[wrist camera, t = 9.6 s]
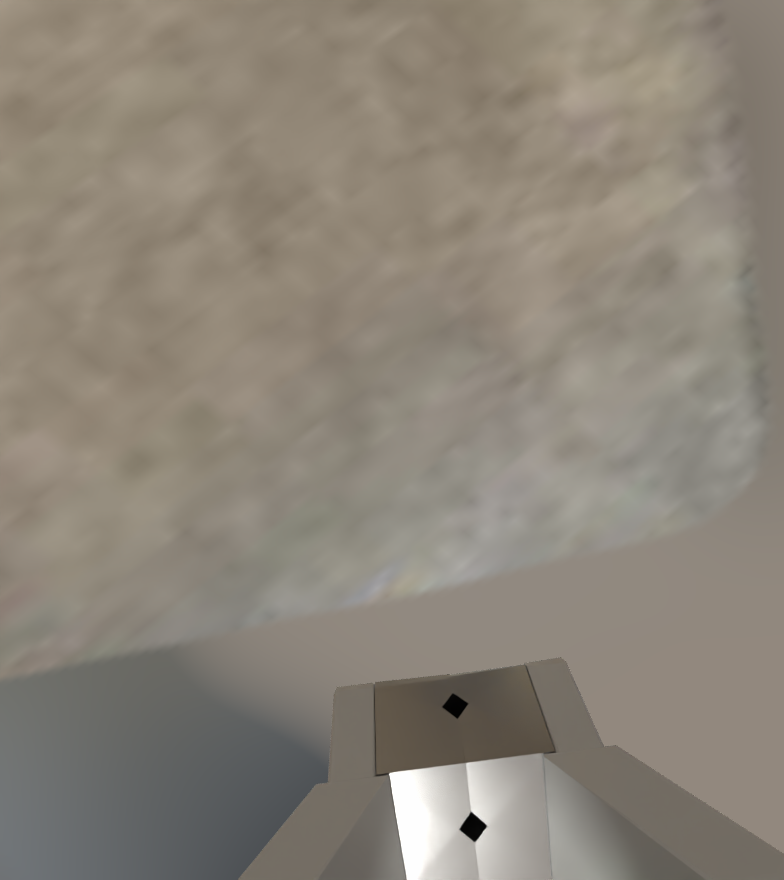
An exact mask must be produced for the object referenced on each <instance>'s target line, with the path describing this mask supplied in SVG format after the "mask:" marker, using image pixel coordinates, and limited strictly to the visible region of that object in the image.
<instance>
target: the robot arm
mask: <svg viewBox="0 0 784 880" xmlns="http://www.w3.org/2000/svg"><path fill="white" fill-rule="evenodd" d="M552 879H553V880H784V854H783V853H782V852H780V851H779V850H777V849H776V848H774V847H772V846H771V845H769V844H768V843H766V842H765V841H763V840H762V839H760V838H759V837H757V836H755V835H754V834H752V833H751V832H749V831H748V830H746V829H745V828H743V827H742V826H740V825H739V824H737V823H735V822H734V821H732V820H731V819H729V818H728V817H726V816H725V815H723V814H722V813H720V812H718V811H717V810H715V809H714V808H712V807H711V806H709V805H708V804H706V803H705V802H703V801H702V800H700V799H698V798H697V797H695V796H694V795H692V794H691V793H689V792H688V791H686V790H685V789H683V788H681V787H680V786H678V785H677V784H675V783H673V782H672V781H671V780H669V779H667V778H666V777H664V776H663V775H661V774H660V773H658V772H656V771H655V770H654V769H652V768H651V767H649V766H647V765H646V764H644V763H643V762H641V761H640V760H638V759H637V758H635V757H634V756H632V755H630V754H629V753H627V752H626V751H624V750H623V749H621V748H620V747H618V746H616V745H614V746H605V747H604V745H603V743H602V741H601V739H600V736H599V734H598V732H597V730H596V728H595V725H594V723H593V721H592V718H591V716H590V714H589V712H588V710H587V707H586V705H585V703H584V701H583V699H582V696H581V694H580V692H579V690H578V687H577V685H576V683H575V681H574V678H573V676H572V674H571V672H570V669H569V667H568V665H567V663H566V661H565V660H564V659H562V658H561V657H560V658H554V659H547V660H541V661H535V662H529V663H524V665H518V666H510V667H503V668H496V669H488V670H481V671H474V672H466V673H459V674H452V675H450V674H447V675H438V676H428V677H420V678H410V679H401V680H392V681H383V682H375V684H373V683H367V684H359V685H351V686H344V687H337V688H336V691H335V693H334V699H333V714H332V730H331V744H330V760H329V776H328V783H323V784H317V785H315V787H314V788H313V789H312V790H311V791H310V793H309V794H308V795H307V796H306V798H305V799H304V800H303V801H302V802H301V804H300V805H299V806H298V807H297V808H296V810H295V811H294V812H293V813H292V815H291V816H290V817H289V818H288V820H287V821H286V822H285V823H284V824H283V825H282V827H281V828H280V829H279V830H278V832H277V833H276V834H275V835H274V836H273V838H272V839H271V840H270V841H269V843H268V844H267V845H266V846H265V848H264V849H263V850H262V851H261V852H260V854H259V855H258V856H257V857H256V859H255V860H254V861H253V862H252V863H251V864H250V866H249V867H248V868H247V869H246V871H245V872H244V873H243V874H242V875H241V877H240V878H239V879H238V880H552Z"/></svg>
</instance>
